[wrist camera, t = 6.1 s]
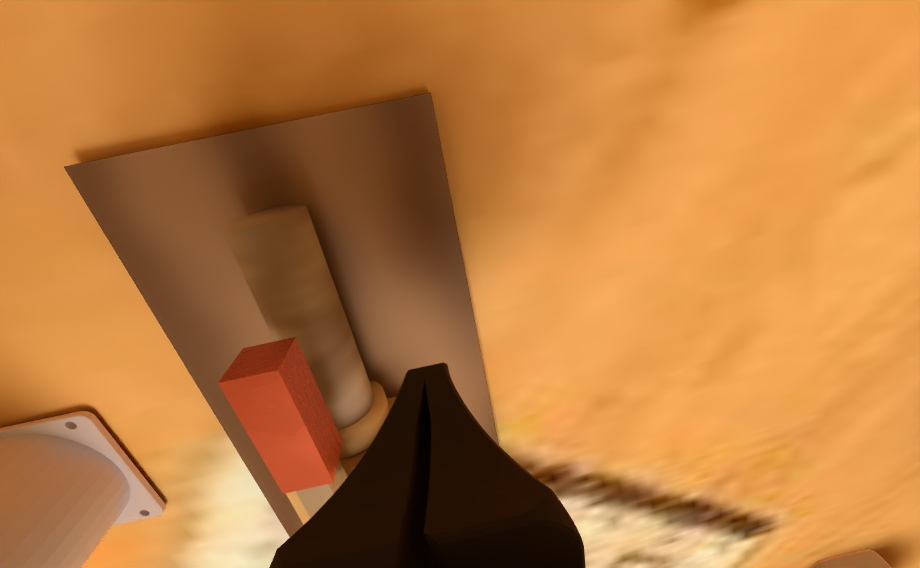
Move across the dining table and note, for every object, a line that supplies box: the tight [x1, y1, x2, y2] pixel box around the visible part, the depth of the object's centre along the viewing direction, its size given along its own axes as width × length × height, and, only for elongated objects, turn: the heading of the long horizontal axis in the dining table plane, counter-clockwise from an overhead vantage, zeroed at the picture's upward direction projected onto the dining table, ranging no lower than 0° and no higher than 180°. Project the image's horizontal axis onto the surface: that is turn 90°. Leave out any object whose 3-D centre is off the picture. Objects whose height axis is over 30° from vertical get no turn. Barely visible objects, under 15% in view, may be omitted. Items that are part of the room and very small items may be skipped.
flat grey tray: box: [64, 93, 499, 537], centre depth 20 cm, size 14×34×5 cm, turn 10°
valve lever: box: [218, 337, 347, 518], centre depth 15 cm, size 11×2×2 cm, turn 11°
